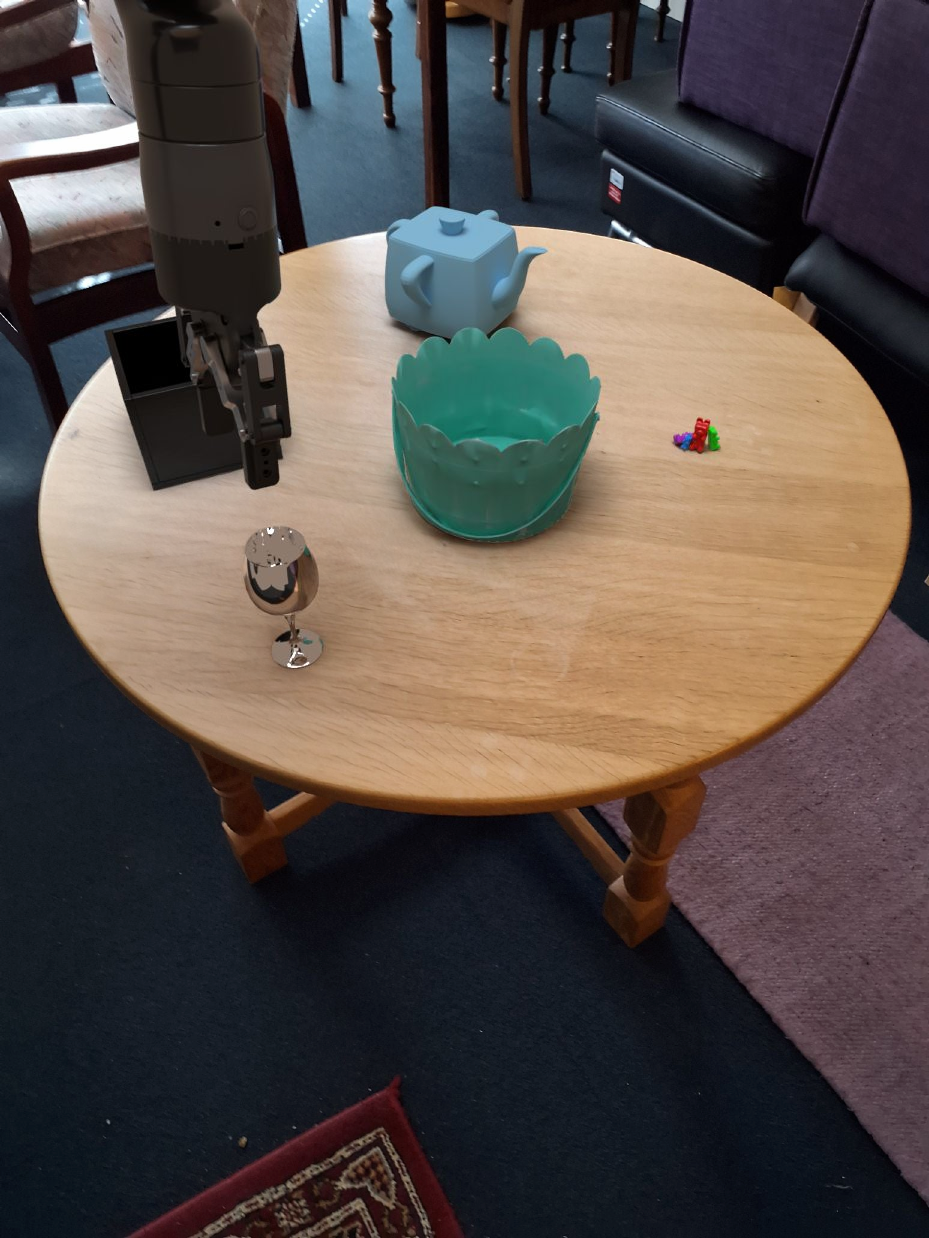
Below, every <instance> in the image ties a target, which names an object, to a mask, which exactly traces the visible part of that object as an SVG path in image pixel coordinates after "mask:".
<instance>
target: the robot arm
mask: <svg viewBox="0 0 929 1238" xmlns="http://www.w3.org/2000/svg"><path fill="white" fill-rule="evenodd" d="M113 3H114V6H115V9H116V12H117V15H118V17H119V21H120V23H121V28H122V30H123V35H124V40H125V47H126V49H125V50H126V60H127V68H128V69H127V70H128V75H129V81H130V89H131V94H132V100H133V107H134V114H135V121H136V125H137V130H138V131H137V136H138V145H139V146H138V147H139V148H138V149H139V175H140V176H139V177H140V184H141V190H142V195H143V196H142V197H143V201H144V207H145V208H144V209H145V214H146V220H147V221H146V222H147V229H148V233H149V241H150V247H151V253H152V261H153V266H154V272H155V278H156V283H157V290H158V293H159V295H160V297H161V298H162V299H163V300H164V301H165V302H166V303H167V304H169V305H171V306H172V307H174V312H175V316H176V320H177V327H178V335H179V342H180V350H181V361H182V363H183V364H184V366H185V367H191V370H190V372H191V374H190V377H191V380H192V381H193V383H194V385H199V386H197V393H198V400H199V407H200V414H201V421H202V428H203V430H204V431H205V433H206V434H207V435H208V436H216V435H221V434H226V433H230V432H232V431H233V430H234V427H235V425H234V417H235V420H236V423H237V427H238V432H239V435H240V441H241V450H242V459H243V467H244V468H243V475H244V482H245V484H246V485H247V486H248V487H249V489H250V490H253V491H257V490H261V489H265V488H269V487H270V488H271V487H274V486H276V485H277V484H278V483H279V481H280V480H281V479H280V465H279V460H278V453H277V441H276V440H278V439H280V440H284V439H288V438H291V437H292V423H291V413H290V403H289V392H288V383H287V372H286V371H287V370H286V361H285V352H284V350H283V347H282V346H281V344H280V343H273V344H268V340H267V337H266V334H265V331H264V329H263V328H262V327H261V326H260V321H259V319H258V314H259V312H260V311H261V310H262V309H263V308H264V307H265V306H266V305H269V304H271V303H273V302H274V301H275V300H276V299H278V297H279V296H280V294H281V291H282V274H281V261H280V246H279V245H280V244H279V234H278V232H279V231H278V219H277V207H276V194H275V193H276V191H275V181H274V171H273V166H272V162H271V156H270V152H269V147H268V146H269V145H268V142H267V141H268V139H267V132H266V130H267V129H266V116H265V104H264V103H265V102H264V90H263V80H262V77H263V76H262V66H261V57H260V51H259V45H258V40H257V36H256V33H255V30H254V28H253V26H252V24H251V23H250V21H249V20H248V18H247V17H246V16H245V14H243V13H242V12H241V11H240V9H239V8H238V7H237V6H236V4H235V3H234V0H113ZM238 385H242V388H243V390H235V389H233V388H232V387H233V386H238ZM244 405H245V408H244ZM261 408H262V409H263V412H264V415H265V418H263V419H260V416H259V411H260V409H261ZM233 414H234V417H233Z"/></svg>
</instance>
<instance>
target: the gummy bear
mask: <svg viewBox="0 0 929 1238" xmlns="http://www.w3.org/2000/svg"><path fill="white" fill-rule="evenodd" d="M710 425H711V420H710V419H708V418H706V419H704V418H703V417H700V416H699V417H697V418H696V422H695V424H694V431H693V432H688V431H686V432H683V433H681V434H680V433H677V434H674V435H673V436H672V437H673V438H672V439H673V444H674V445H680V444H682V445H680V448H681V449H683V451H685V450H691V451H693V450H697V452H698V453H702V452H703V450H704V449H705V446H706V440H707V444H708V447H709V449H710V451H715V450H719V449H721V444H719V440H720V439H721V438H720V437H721V436H718V434H719V432H718V430H716V427H715V426H710Z"/></svg>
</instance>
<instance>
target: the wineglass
mask: <svg viewBox="0 0 929 1238" xmlns="http://www.w3.org/2000/svg"><path fill="white" fill-rule="evenodd" d="M242 557H243V558H242V574H243V582H244V586H245V590H246V593H247V595H248V597H249V599H250V601H251V602H252V604H254V606H255V607H257V609H259V610H260V611H262V612H264V613H265V614H268V615H270V616H275V617H284V619H285V620H286V621H287V624H288V626H289V630H286V631H284V632H282V633H281V634H280V635H278V636H277V637H276V638H275V639H274V641H273V642H272V645H271V647H270V655H271V658H272V660H273V661H274V663H276V664H278V665H279V666H280V667H283V668H285V669H291V670H292V669H293V670H294V669H295V670H296V669H302V668H303V669H304V668H306V667H308V666H310V665H312V664H314V663H315V662H316V661H317V660H318V659H319V658H320V657H321V655H322V653H323V650H324V642H323V638H321V636H320V635H319V634H318V633H316V631H313V630H311V629H307V628H297V627H296V615H297V614H299V613H301V612H302V611H304V610H305V609H306V608H308V607H309V606H311V604H312V603H313V602H314V599H315V598H316V596H317V595H318V591H319V587H320V574H319V569H318V565H317V562H316V558H315V556H314V554H313V552H312V549H311V547H310V545H309V544H308V542H307V540H306V538H305V536H304V535H303V534H302V532H300V531H299V530H297V529H296V528H293V527H291V526H285V525H274V526H272V525H271V526H268V527H264V528H262V529H259V530H258V531H256V532H254V533H253V534H252V535H251V536H249V538H248V539H247V540H246V542H245V544H244V548H243V555H242Z"/></svg>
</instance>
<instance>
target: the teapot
mask: <svg viewBox="0 0 929 1238" xmlns="http://www.w3.org/2000/svg"><path fill="white" fill-rule="evenodd" d="M385 240H386V244H387V247H386V256H385V267H384V298H385V299H384V300H385V305H386V309H387V311H388V314H389V316H390V317H391V318H392V319H393V320H394V321H395V320H396V321H397V322H400V323H402V324H405V325H407V327H408V328H409V329H410V330H411V331H416V332H417V331H418V332H419V331H421V332H422V331H423V332H426V333H429V334H433V335H435V336H438V337H441V338H445V339H450V342H451V341H452V339H453V337H454V336H455V335H456V333H457V332H459V331H460V330H462V329H464V328H478V329H479V330H481V331H482V332H483V333H484V334H485V335H486V336H488V335H489V334H490V333H491V332H492V331H493V330H495V329H496V328H497V327H498V326H500V324H502V323H503V322H504V321H505V320H506V319H507V318H508V317H509V316H511V314H512V313H514V311H515V310H516V309H517V306H518V303H519V299H520V296H521V295H522V293H523V291H524V288H525V285H526V282H527V277H528V271H529V268H530V265H531V263H532V262H533V260H534V259H535V258H537V257H539V256H541V255H543V254H546V253H548V249H547V248H544V247H542V246H541V247H540V246H528V247H527V246H526V247H524V248H523V249H521V250H520V251H519V246H518V240H517V232H516V229H515V228H514V227H513V226H512V225H510V224H507V223H504V222H501V221H500V217H499V214H498V212H497V211H496V210H492V209H486V210H482V211H481V212H480V213H478V214H473V213H470V212H465V211H461V210H457V209H452V208H448V207H444V206H431V207H429V208H428V209H426V210H424V211H422V212H421V213H419V214H417V215H416V216H415V217H413V218H412V219H408V218H401V219H397V220H395V221H394V222H392V223H391V224H390V226H389V227H388V228H387V230H386V233H385Z"/></svg>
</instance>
